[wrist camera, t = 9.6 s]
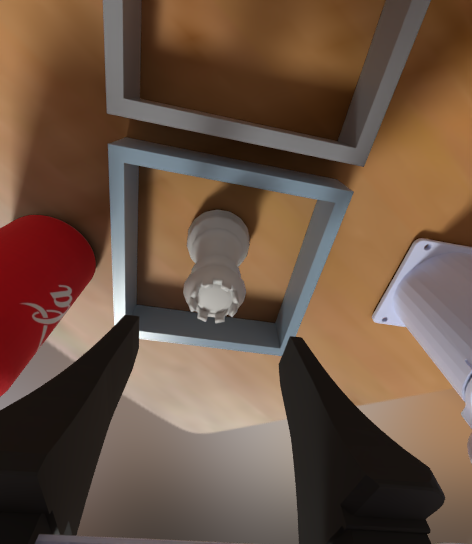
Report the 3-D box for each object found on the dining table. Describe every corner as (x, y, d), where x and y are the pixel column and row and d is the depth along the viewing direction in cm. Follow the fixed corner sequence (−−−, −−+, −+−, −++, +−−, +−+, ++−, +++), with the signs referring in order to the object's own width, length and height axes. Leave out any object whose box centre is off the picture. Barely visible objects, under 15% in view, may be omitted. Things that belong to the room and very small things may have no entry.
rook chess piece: (191, 264, 22) (174, 338, 15) (185, 207, 20) (161, 265, 13) (248, 262, 22) (257, 336, 15) (249, 206, 20) (260, 263, 13)
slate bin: (336, 179, 19) (353, 191, 16) (281, 331, 26) (287, 356, 23) (125, 137, 17) (107, 143, 15) (126, 310, 24) (114, 335, 22)
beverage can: (34, 288, 23) (-124, 443, 13) (-7, 215, 20) (-263, 341, 9) (111, 282, 23) (14, 433, 12) (83, 206, 20) (-79, 326, 9)
